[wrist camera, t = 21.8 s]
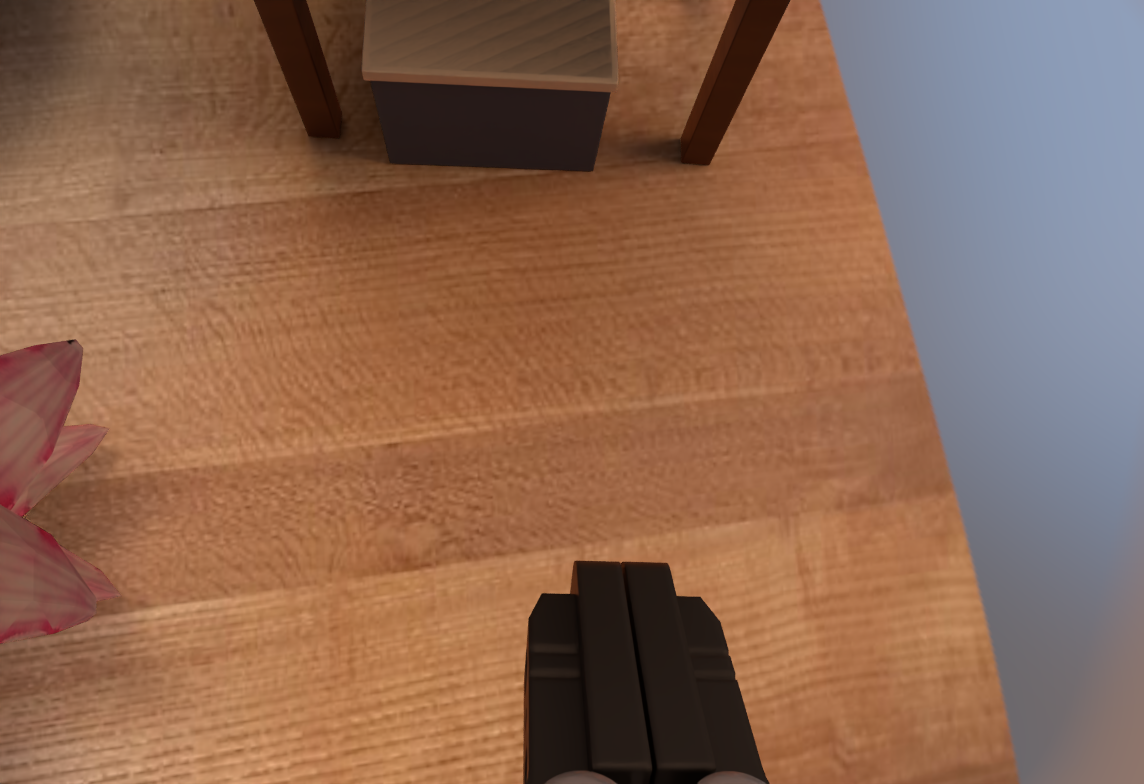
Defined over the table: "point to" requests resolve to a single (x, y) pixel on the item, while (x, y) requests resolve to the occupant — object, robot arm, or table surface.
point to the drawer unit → (705, 128)
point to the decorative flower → (41, 493)
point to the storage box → (492, 80)
